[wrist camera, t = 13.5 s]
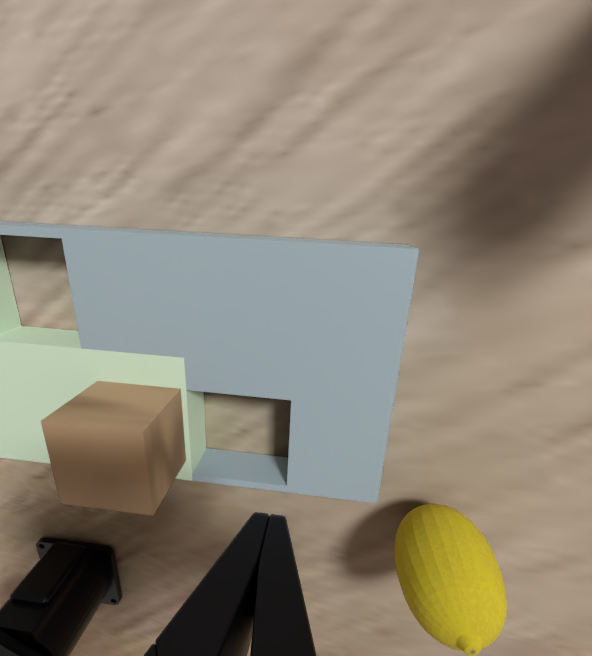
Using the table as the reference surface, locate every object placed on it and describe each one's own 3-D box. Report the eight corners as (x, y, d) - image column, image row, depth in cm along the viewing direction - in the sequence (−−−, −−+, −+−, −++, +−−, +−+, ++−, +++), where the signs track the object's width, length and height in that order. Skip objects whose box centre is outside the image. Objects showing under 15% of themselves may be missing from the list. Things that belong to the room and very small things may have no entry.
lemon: (472, 534, 23) (540, 688, 16) (392, 541, 24) (419, 689, 17) (464, 471, 22) (536, 609, 14) (379, 481, 23) (402, 615, 15)
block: (186, 460, 20) (153, 515, 17) (109, 451, 21) (60, 503, 17) (180, 388, 19) (142, 432, 15) (97, 380, 19) (40, 420, 15)
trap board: (372, 472, 22) (378, 510, 20) (3, 430, 25) (-40, 458, 22) (407, 244, 17) (422, 250, 15) (-58, 217, 20) (-123, 218, 17)
